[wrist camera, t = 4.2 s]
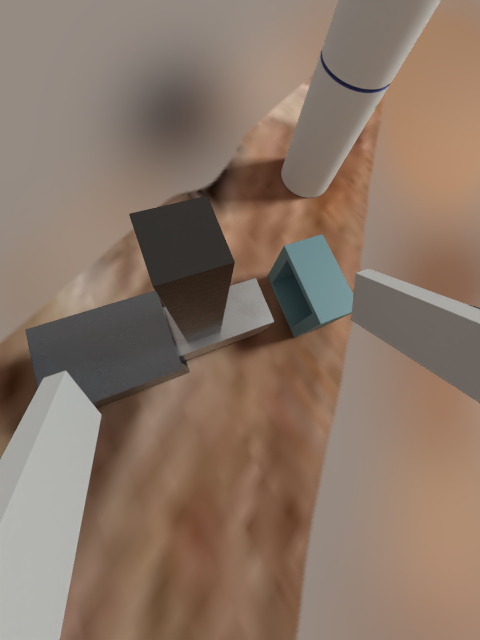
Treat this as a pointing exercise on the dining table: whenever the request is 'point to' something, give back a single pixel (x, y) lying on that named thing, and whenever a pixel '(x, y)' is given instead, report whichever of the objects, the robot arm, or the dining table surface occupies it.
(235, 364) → the dining table surface
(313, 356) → the dining table surface
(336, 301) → the socket block
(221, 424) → the dining table surface
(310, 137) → the cylindrical container
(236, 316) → the gray bar with post
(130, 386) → the matte charcoal box
